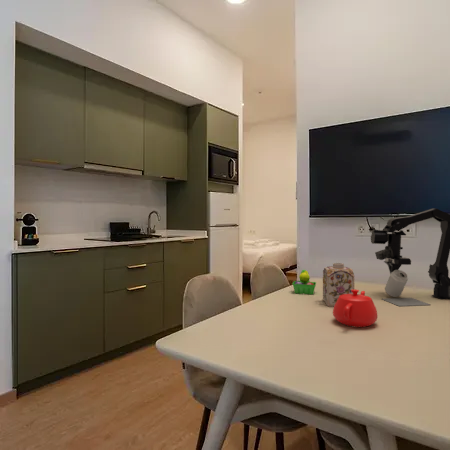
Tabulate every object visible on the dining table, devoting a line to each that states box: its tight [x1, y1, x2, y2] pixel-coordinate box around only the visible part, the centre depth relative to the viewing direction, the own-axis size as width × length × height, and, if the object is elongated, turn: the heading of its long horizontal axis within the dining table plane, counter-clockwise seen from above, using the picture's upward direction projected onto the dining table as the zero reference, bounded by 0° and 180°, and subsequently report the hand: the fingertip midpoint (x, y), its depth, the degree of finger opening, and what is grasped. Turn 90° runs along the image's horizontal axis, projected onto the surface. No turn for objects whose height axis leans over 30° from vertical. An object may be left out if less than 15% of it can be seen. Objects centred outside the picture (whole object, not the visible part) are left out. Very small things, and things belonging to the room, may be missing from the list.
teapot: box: [332, 288, 378, 328], centre depth 131 cm, size 25×16×12 cm, turn 145°
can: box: [384, 269, 409, 298], centre depth 167 cm, size 8×8×12 cm
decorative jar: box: [322, 262, 355, 307], centre depth 158 cm, size 12×12×18 cm
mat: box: [381, 297, 432, 307], centre depth 160 cm, size 15×13×1 cm
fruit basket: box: [292, 269, 317, 295], centre depth 180 cm, size 11×9×11 cm
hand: (392, 276), depth 170 cm, fingers closed
